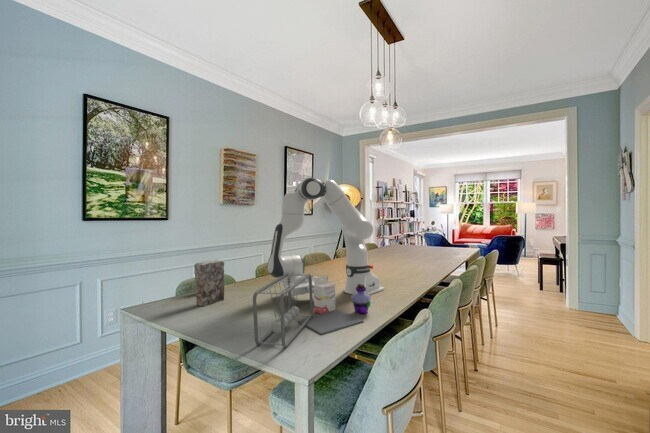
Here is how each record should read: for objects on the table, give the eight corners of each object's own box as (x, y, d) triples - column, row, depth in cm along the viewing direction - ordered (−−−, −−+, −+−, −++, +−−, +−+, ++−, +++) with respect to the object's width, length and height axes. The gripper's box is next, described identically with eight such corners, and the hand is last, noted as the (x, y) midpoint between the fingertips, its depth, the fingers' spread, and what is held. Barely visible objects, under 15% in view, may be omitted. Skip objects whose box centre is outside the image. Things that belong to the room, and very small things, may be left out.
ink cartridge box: (322, 314, 129) (321, 279, 128) (314, 312, 132) (313, 278, 132) (336, 309, 135) (335, 276, 134) (328, 307, 138) (327, 274, 138)
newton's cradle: (284, 350, 96) (282, 294, 95) (254, 347, 99) (251, 293, 98) (313, 316, 125) (311, 272, 124) (289, 314, 128) (287, 272, 127)
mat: (338, 311, 132) (338, 310, 132) (363, 322, 119) (363, 320, 119) (298, 321, 121) (298, 320, 121) (321, 335, 108) (321, 333, 108)
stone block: (204, 307, 142) (203, 264, 141) (194, 305, 145) (193, 263, 144) (226, 299, 153) (225, 259, 153) (216, 298, 156) (215, 258, 156)
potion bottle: (370, 316, 126) (370, 287, 125) (349, 315, 128) (349, 286, 127) (372, 309, 134) (371, 282, 134) (352, 308, 136) (352, 281, 136)
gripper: (281, 281, 143) (296, 287, 132) (317, 275, 155) (334, 280, 144) (282, 295, 144) (296, 302, 132) (318, 288, 155) (334, 293, 144)
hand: (316, 290), depth 138 cm, fingers closed
